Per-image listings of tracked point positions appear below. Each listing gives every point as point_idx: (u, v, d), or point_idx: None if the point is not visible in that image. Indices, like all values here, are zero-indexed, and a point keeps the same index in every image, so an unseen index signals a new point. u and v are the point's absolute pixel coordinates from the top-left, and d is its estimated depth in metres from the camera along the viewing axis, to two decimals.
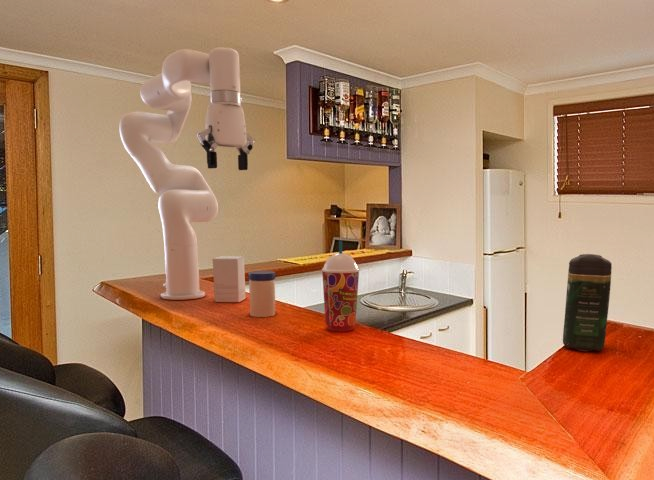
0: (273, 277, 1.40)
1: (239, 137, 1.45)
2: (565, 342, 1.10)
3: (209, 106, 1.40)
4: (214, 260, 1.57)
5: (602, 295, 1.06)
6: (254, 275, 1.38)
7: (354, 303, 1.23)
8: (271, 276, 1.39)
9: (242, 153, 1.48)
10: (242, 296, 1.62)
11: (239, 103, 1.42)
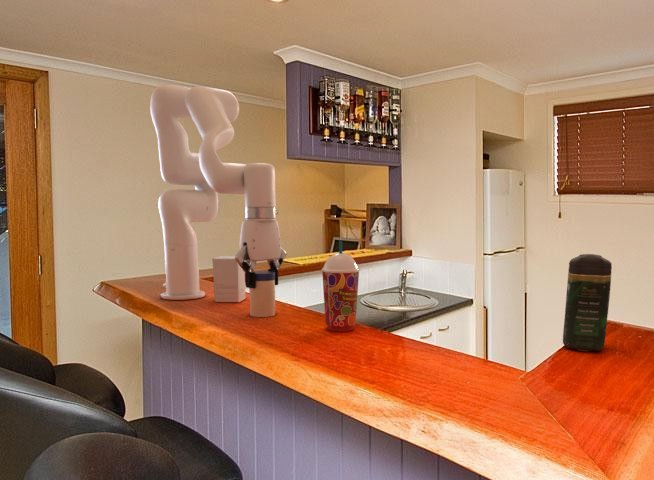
0: (273, 277, 1.40)
1: (274, 251, 1.40)
2: (565, 342, 1.10)
3: (244, 222, 1.35)
4: (214, 260, 1.57)
5: (602, 295, 1.06)
6: None
7: (354, 303, 1.23)
8: (271, 276, 1.39)
9: (272, 267, 1.43)
10: (242, 296, 1.62)
11: (274, 218, 1.37)
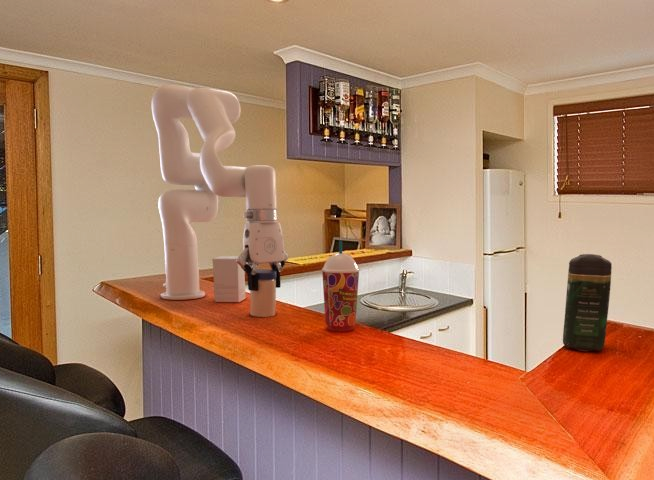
0: None
1: None
2: (565, 342, 1.10)
3: None
4: (214, 260, 1.57)
5: (602, 295, 1.06)
6: None
7: (354, 303, 1.23)
8: None
9: None
10: (242, 296, 1.62)
11: None
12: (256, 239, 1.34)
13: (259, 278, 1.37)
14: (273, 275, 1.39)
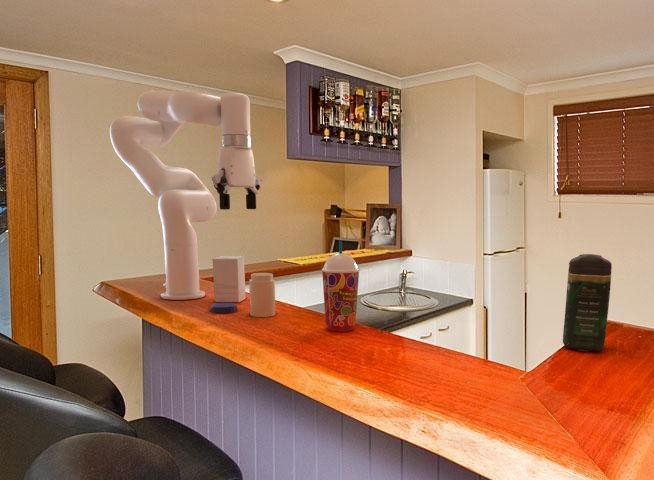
0: (233, 310, 1.45)
1: (249, 178, 1.49)
2: (565, 342, 1.10)
3: (222, 149, 1.44)
4: (214, 260, 1.57)
5: (602, 295, 1.06)
6: (213, 308, 1.44)
7: (354, 303, 1.23)
8: (230, 309, 1.44)
9: (250, 193, 1.53)
10: (242, 296, 1.62)
11: (250, 146, 1.47)
12: None
13: None
14: None
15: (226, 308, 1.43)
